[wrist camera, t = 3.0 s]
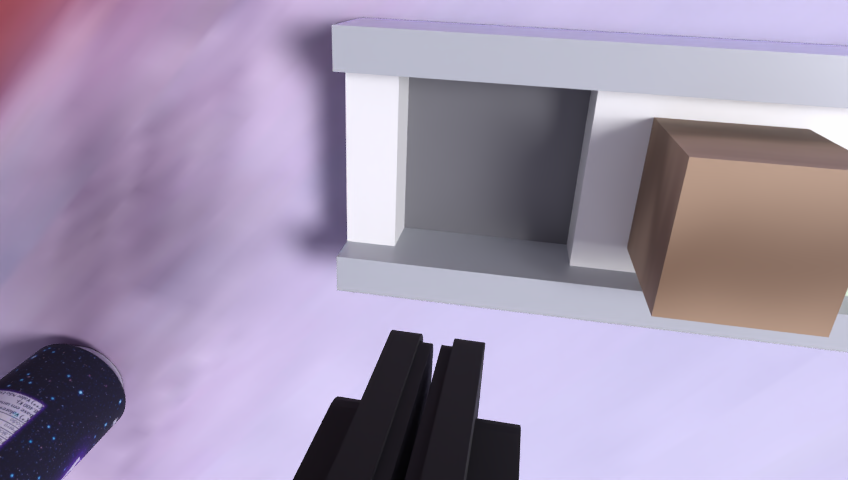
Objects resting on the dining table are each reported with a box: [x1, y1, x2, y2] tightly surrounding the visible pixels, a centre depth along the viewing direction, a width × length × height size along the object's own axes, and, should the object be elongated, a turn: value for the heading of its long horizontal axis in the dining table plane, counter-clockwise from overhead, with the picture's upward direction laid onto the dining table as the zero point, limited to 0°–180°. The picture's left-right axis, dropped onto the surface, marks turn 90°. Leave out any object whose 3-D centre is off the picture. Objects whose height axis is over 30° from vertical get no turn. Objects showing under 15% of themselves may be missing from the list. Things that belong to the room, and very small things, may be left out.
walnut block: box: [627, 117, 848, 337], centre depth 19 cm, size 5×5×5 cm
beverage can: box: [0, 344, 126, 480], centre depth 28 cm, size 6×6×12 cm
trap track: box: [332, 17, 848, 352], centre depth 21 cm, size 10×35×4 cm, turn 87°
